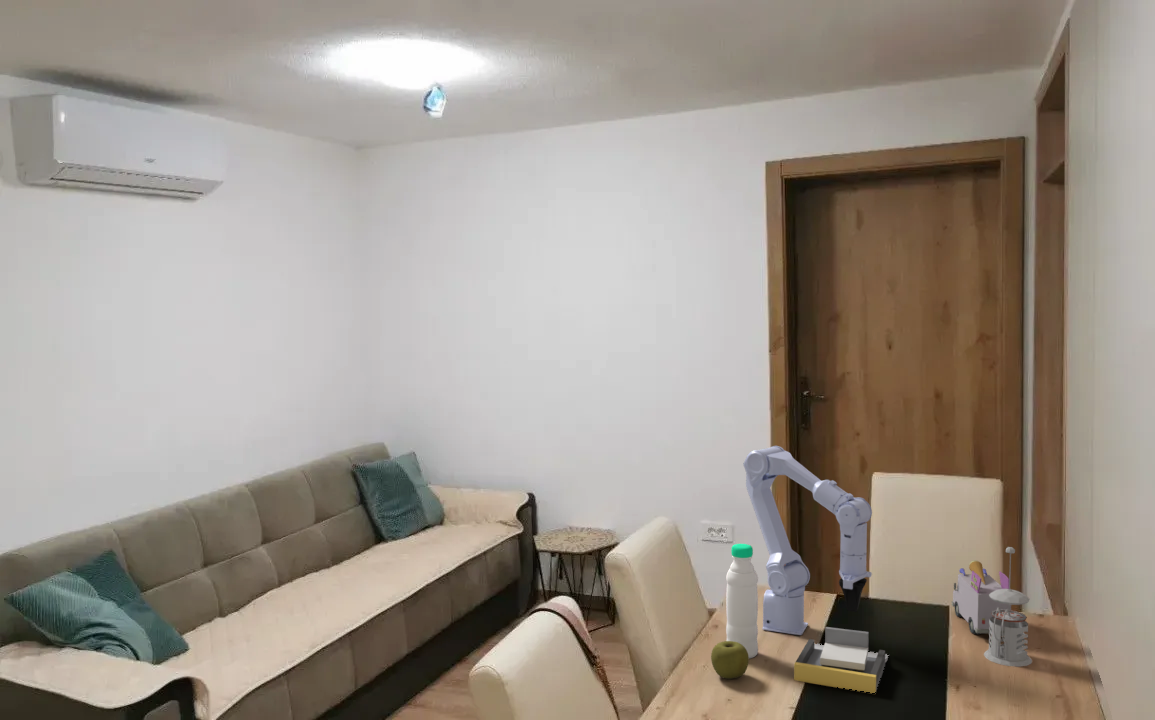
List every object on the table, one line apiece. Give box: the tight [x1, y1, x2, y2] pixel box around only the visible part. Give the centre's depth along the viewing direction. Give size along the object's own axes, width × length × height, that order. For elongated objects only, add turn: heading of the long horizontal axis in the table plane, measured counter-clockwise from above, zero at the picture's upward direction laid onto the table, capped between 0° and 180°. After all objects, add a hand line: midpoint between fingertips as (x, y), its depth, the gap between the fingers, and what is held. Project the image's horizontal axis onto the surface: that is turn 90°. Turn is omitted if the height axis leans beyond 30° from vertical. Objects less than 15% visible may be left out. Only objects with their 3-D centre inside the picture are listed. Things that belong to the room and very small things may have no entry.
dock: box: [793, 638, 890, 694], centre depth 201 cm, size 16×22×4 cm
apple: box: [710, 640, 750, 680], centre depth 197 cm, size 8×8×7 cm
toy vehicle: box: [951, 560, 1012, 635], centre depth 224 cm, size 9×20×15 cm, turn 174°
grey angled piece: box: [820, 626, 869, 673], centre depth 198 cm, size 9×10×6 cm
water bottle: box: [725, 543, 759, 659], centre depth 208 cm, size 7×7×25 cm
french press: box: [983, 546, 1033, 668], centre depth 204 cm, size 10×12×25 cm
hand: (852, 610), depth 211 cm, fingers closed
